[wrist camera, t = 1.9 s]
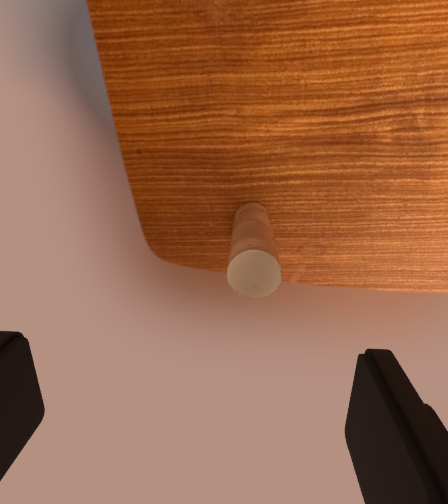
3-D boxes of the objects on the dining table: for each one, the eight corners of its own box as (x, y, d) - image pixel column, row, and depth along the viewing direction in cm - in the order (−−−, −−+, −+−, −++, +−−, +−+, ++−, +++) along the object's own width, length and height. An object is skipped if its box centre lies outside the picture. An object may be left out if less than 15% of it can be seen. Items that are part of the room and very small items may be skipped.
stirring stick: (232, 233, 31) (223, 295, 20) (236, 199, 30) (229, 246, 19) (266, 237, 31) (276, 302, 20) (272, 204, 30) (286, 253, 19)
